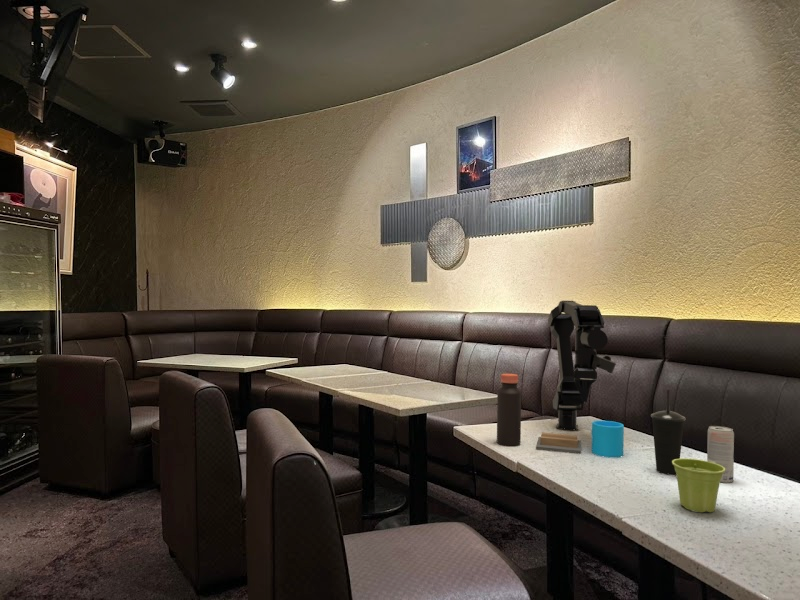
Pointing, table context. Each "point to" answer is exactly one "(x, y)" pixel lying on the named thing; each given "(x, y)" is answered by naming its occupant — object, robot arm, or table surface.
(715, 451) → the energy drink
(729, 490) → the table surface
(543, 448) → the rubber mat
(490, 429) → the table surface
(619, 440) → the blue cup
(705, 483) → the plant pot
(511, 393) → the bottle
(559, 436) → the walnut lid
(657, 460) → the drinking cup
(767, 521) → the table surface
